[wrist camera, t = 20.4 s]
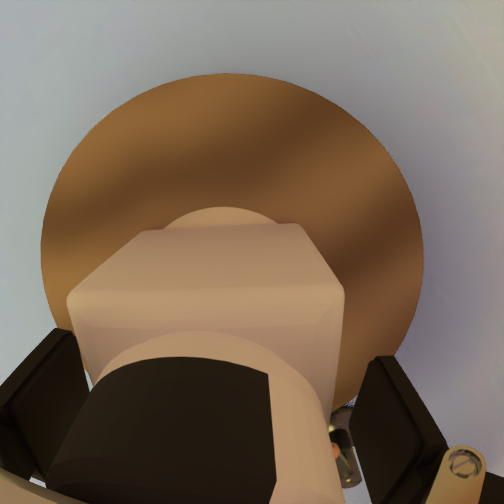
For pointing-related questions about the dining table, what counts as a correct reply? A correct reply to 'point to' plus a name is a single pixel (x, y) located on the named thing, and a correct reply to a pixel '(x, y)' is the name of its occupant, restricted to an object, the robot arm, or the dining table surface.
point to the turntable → (245, 196)
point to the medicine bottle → (206, 371)
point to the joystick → (343, 447)
